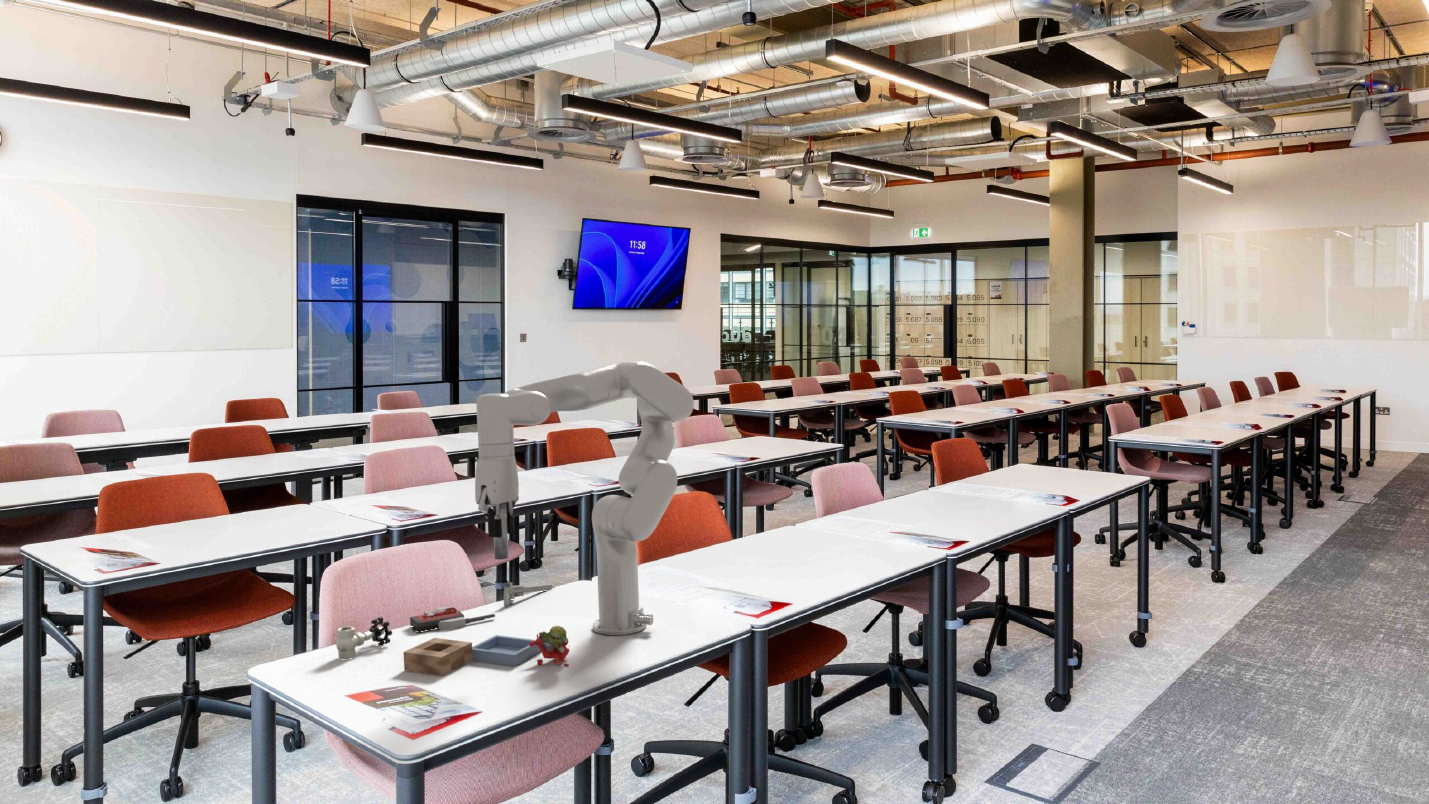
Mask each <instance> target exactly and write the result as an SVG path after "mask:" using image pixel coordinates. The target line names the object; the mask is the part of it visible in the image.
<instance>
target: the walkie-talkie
mask: <svg viewBox="0 0 1429 804" xmlns="http://www.w3.org/2000/svg"><path fill="white" fill-rule="evenodd" d="M495 617H496V614H494V613H491V614H485V615H481V616H475V617H468V618H466V617H465V614H463V612H462V611H460V610H458V609H457V608H455V607H454V606H453V605H446V606H440V607H436V608H434V609H433V610H432V611H431V612H428V611H425V610H424V611H423V614H420V615H412V616H409V624H410V626H413V627H412V628H411V630H412V632H416V631H418V632H421V631H425V630H431V629H435V628H440V629H439V630H452V629H451V628H454V629H457V628H458V627H459V628H464V627H466V625H468V624H471V623H475V622H480V621H481V622H482V621H485V620H487V619H492V618H495ZM431 631H432V630H431ZM418 632H417V633H418ZM421 633H422V632H421Z"/></svg>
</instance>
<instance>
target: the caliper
mask: <svg viewBox="0 0 1429 804" xmlns="http://www.w3.org/2000/svg"><path fill="white" fill-rule="evenodd" d="M555 587H556V586H555V585H553V584H539V585H538V584H537V585H529V586H525V585H522V584H521V585H513V582H506V583H505V587H504V588H503V606H504V607H509V606H513V605H514V601H515V599H516V597H524V595H525V594H526V593H534V592H542V591H550V590H552V589H555ZM511 599H514V600H511ZM512 604H513V605H512Z"/></svg>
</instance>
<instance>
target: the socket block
mask: <svg viewBox="0 0 1429 804" xmlns="http://www.w3.org/2000/svg"><path fill="white" fill-rule="evenodd" d="M472 647H473V642H471V641H469V642H468V641H464V640H457V639H456V640H455V639H448V638H440V637H433V638H431V639H429V640H427V641H425V642H422V643H420V644H418V645H416V646H414V647H412V648H409V649H407V650H405V651H403V670H405V672H411V671H415V672H414V673H419V674H425V675H426V674H427V675H433V676H438V675H439V677H444V676H445V675H448V674H450V673H452V672H454V671H455V670H456V671H457V669H459V668H461V667H463V666H465V665H467V664H469V663H471V662H474V661H473V655H472ZM406 670H407V671H406ZM453 670H454V671H453ZM451 671H452V672H451Z"/></svg>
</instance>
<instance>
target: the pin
mask: <svg viewBox="0 0 1429 804" xmlns="http://www.w3.org/2000/svg"><path fill="white" fill-rule="evenodd" d="M491 508H492V509H493V510H494V507H491ZM499 519H501V521H502V537H500V538H498V537H493V550H494V551H493V552H494V554H493V555H494V559H495V560H499V561H501V560H508V559H509V558H510V556H509V555H510V554H509V552H510V551H509V534H508V529H507V503H503V504H500V507H499Z"/></svg>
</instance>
